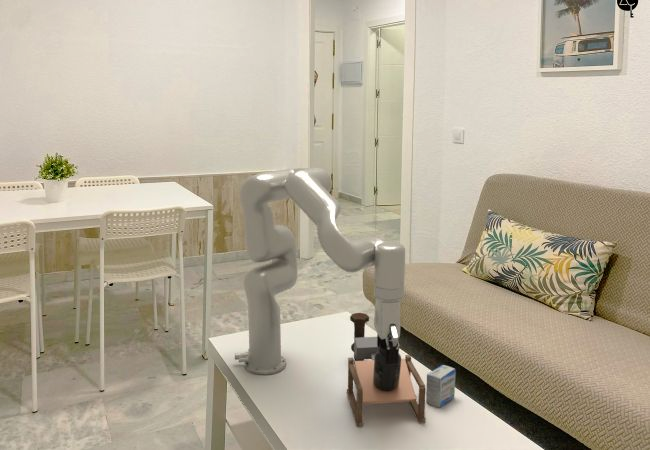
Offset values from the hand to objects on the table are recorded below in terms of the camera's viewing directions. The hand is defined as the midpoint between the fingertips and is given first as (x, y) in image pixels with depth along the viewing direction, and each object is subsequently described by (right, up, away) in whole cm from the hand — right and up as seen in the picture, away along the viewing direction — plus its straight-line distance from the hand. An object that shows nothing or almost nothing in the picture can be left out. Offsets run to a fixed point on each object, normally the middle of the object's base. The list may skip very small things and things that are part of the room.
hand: (387, 354), depth 154 cm
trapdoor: (-1, -8, +8) cm, 12 cm away
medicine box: (+15, -15, +9) cm, 23 cm away
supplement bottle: (0, -8, +2) cm, 9 cm away
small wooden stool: (0, -15, +6) cm, 16 cm away
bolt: (-5, -9, +33) cm, 34 cm away
